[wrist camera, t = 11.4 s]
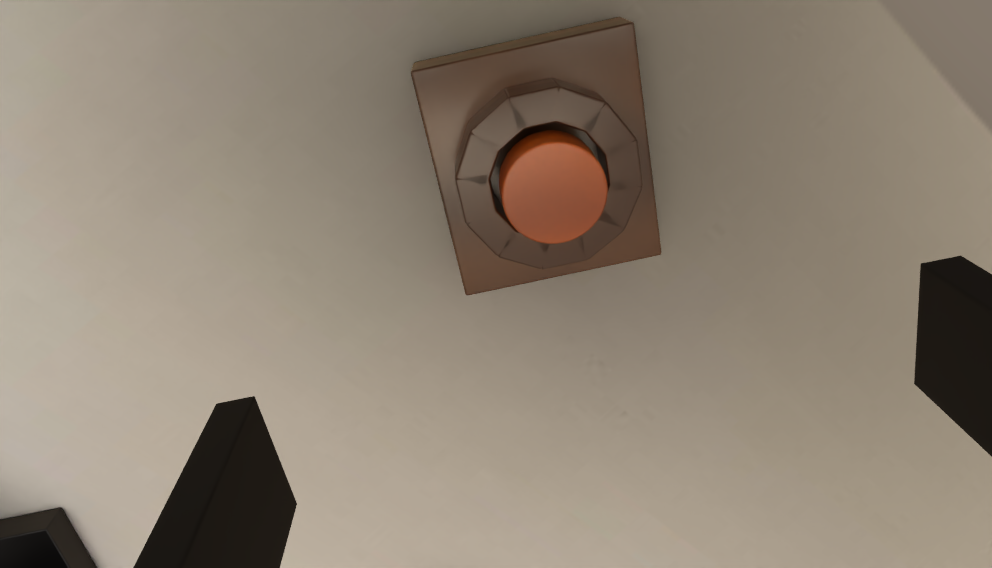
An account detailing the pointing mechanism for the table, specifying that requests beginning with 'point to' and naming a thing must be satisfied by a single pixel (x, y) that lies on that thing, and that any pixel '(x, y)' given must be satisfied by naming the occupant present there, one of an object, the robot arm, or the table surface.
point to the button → (552, 187)
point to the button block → (529, 109)
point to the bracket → (41, 542)
